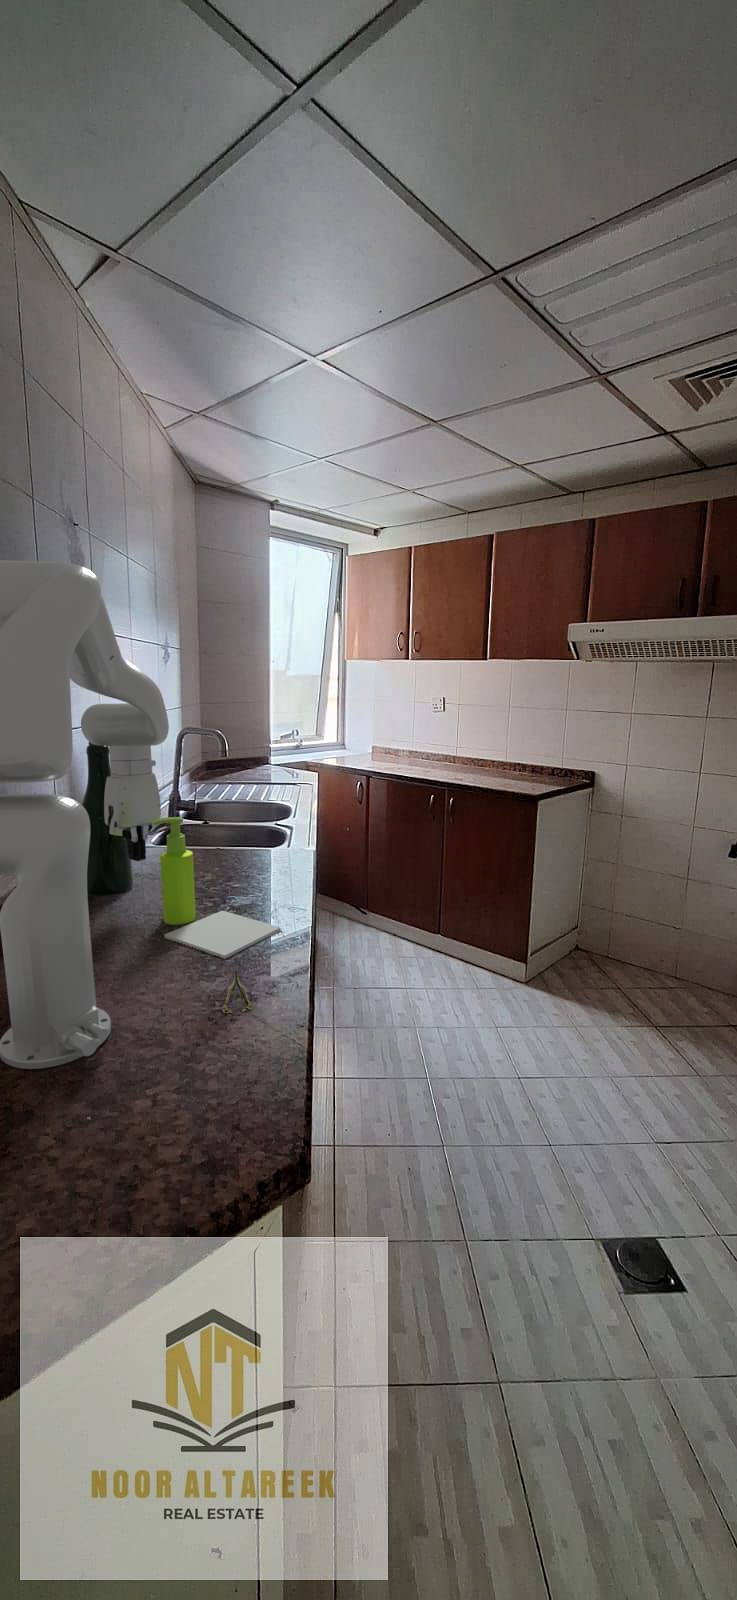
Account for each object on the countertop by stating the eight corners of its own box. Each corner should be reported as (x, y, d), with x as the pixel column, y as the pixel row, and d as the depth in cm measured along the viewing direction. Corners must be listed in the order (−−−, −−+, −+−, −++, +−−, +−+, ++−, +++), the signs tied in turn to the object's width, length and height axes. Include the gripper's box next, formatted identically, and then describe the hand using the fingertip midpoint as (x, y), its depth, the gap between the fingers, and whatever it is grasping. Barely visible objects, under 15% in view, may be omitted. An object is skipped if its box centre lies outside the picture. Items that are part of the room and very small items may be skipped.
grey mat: (280, 930, 110) (280, 927, 110) (224, 958, 98) (224, 955, 98) (222, 913, 118) (222, 910, 118) (164, 937, 106) (164, 934, 106)
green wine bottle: (136, 880, 137) (126, 736, 131) (130, 895, 127) (120, 741, 121) (86, 883, 134) (75, 737, 128) (77, 899, 124) (63, 741, 118)
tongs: (243, 973, 95) (243, 962, 94) (253, 1019, 83) (253, 1006, 82) (216, 976, 94) (215, 965, 93) (222, 1024, 82) (222, 1011, 81)
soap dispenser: (156, 916, 116) (150, 816, 112) (193, 911, 119) (188, 813, 115) (159, 927, 110) (153, 823, 107) (198, 921, 113) (193, 819, 110)
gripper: (151, 762, 123) (156, 848, 127) (84, 770, 111) (91, 865, 114) (175, 765, 119) (180, 853, 123) (108, 774, 107) (115, 872, 110)
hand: (137, 859), depth 118 cm, fingers closed
